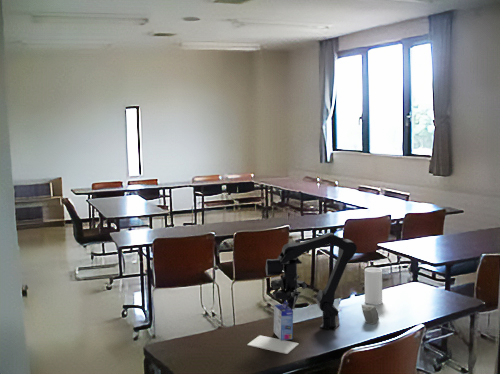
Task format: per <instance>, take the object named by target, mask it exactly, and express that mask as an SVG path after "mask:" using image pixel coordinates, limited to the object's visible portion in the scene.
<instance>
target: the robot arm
mask: <svg viewBox="0 0 500 374" xmlns="http://www.w3.org/2000/svg"><path fill="white" fill-rule="evenodd" d="M328 245H334V246H335V247H337V248H338V251H337V259H336V262H335V264H334V266H333V268H332V271H331V273H330V275H329V278H328V280H327V282H326V285H325V287H324V289H322V290H321V289H319V290H318V292H317V295H316V296H315V299H316V301H315V303H316V305H317V306H318V308H319V310H321V312H322V324H320V326H319V328H321V329H325V330H330V331H331V330H332V331H335V330H336V329H337V328H338V327H339V326H340V324H339V323H337V316H338V314H339V310H338V309H337V307H336V306H335V305H334V303H335V297H336V296H335V295H336V294H335V293H336V291H337V289H338V286H339V283H340V282H341V280H342V277H343V274H344V272H345V270H346V267H347V265H348V264H349V262H350V261H351V260H352V259H353V258H354V256H355V254H357V251H358V247H357V244H356V243H354V241H352V240H351V239H348V238H342V237H341V236H338V235H336V234H334V233H333V232H328V233H326V234H323V235H319V236H317V237H314V238H311V239H308V240H305V241H302V242H301V241H299V242H289V243H286V244H284V245H283V246H282V249H281V252H280V254H279V255H278V256H277V258H274V259H273V258H271V259H270V258H267V259H266V261H265V273H266V277H268V276H270V277H271V276H280V275H281V274H282V273H283V276H281V278H279V279H274V280H271V281H270V288H271V289H272V290H277V289H279V290H278V291H276V292H275V293H274V299H275V300H282V301H285V300H286V301H287V302H288V305H287V306H288V307H289V308H290V309H292V310H293V309H294V308H295V306H296V304H297V301H298V299H299V297H300V295H301V293H302V292H301V291H299V289H300V288H301V289H302V290H306V288H307V283H306V281H305V280H298V279H299V278H300V275H298V265H299V264H302V260H301V259H299V257H300V256H302V255H303V254H304V253H308V252H309V251H313V250H316V249H320V248H322V247H326V246H328ZM293 311H294V310H293Z"/></svg>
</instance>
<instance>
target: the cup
mask: <svg viewBox="0 0 500 374" xmlns="http://www.w3.org/2000/svg"><path fill="white" fill-rule="evenodd" d="M364 302H365V303H366V304H367V305H372V306H374V305H380V304H382V303H383V268H380V267H375V266H373V267H372V266H370V267H366V268H364Z"/></svg>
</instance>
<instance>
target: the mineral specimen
mask: <svg viewBox="0 0 500 374" xmlns="http://www.w3.org/2000/svg"><path fill="white" fill-rule="evenodd" d="M361 310H362V314H363V317H364V321H365V323H366V324H367V325H369V324H371V325H376V323H378V322H379V321H380V318H379V316H380V315H379V312H378V309H377V307H376V306H374V305H372V304H361Z"/></svg>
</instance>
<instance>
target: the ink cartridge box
mask: <svg viewBox="0 0 500 374" xmlns="http://www.w3.org/2000/svg"><path fill="white" fill-rule="evenodd" d="M293 319H294V310H292V309H290V308H289V305H288V302H287V300H284V302H283V303H282V304H281V303H278V304H274V305H273V333H274V334H275V336H277V339H280V340H285V341H290V340H293V339H294V336H293V331H294V329H293V328H294V326H293V325H294V322H293V321H294V320H293Z"/></svg>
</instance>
